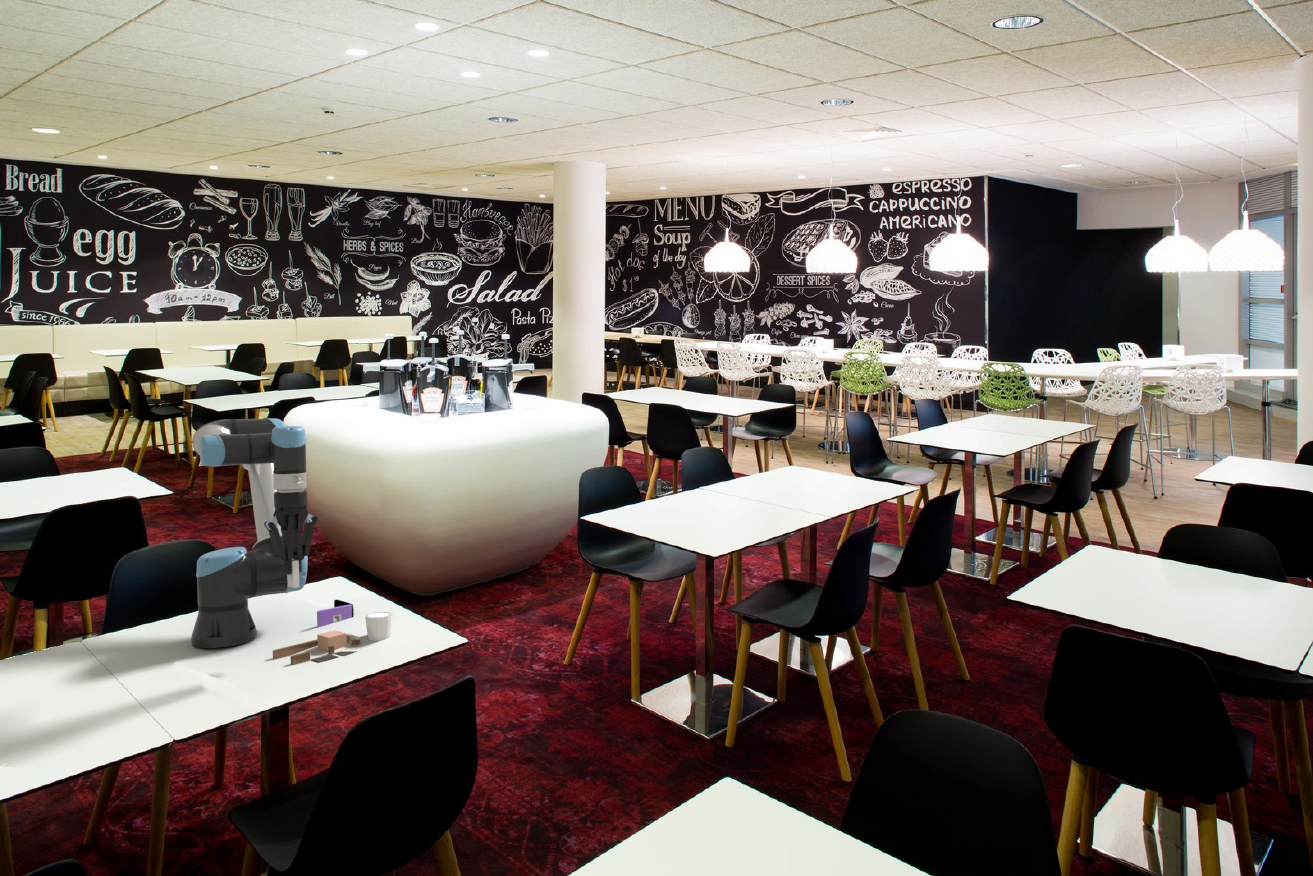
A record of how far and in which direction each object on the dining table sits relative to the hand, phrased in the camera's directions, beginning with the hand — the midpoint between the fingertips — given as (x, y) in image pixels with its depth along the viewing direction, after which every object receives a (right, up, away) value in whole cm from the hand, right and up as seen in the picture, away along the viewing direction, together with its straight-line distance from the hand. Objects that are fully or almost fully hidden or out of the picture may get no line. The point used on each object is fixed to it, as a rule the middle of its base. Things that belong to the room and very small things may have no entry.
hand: (293, 586), depth 221 cm
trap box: (+5, -17, +4) cm, 18 cm away
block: (+6, -17, +8) cm, 20 cm away
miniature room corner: (-2, -17, +29) cm, 33 cm away
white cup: (+16, -17, +15) cm, 28 cm away
